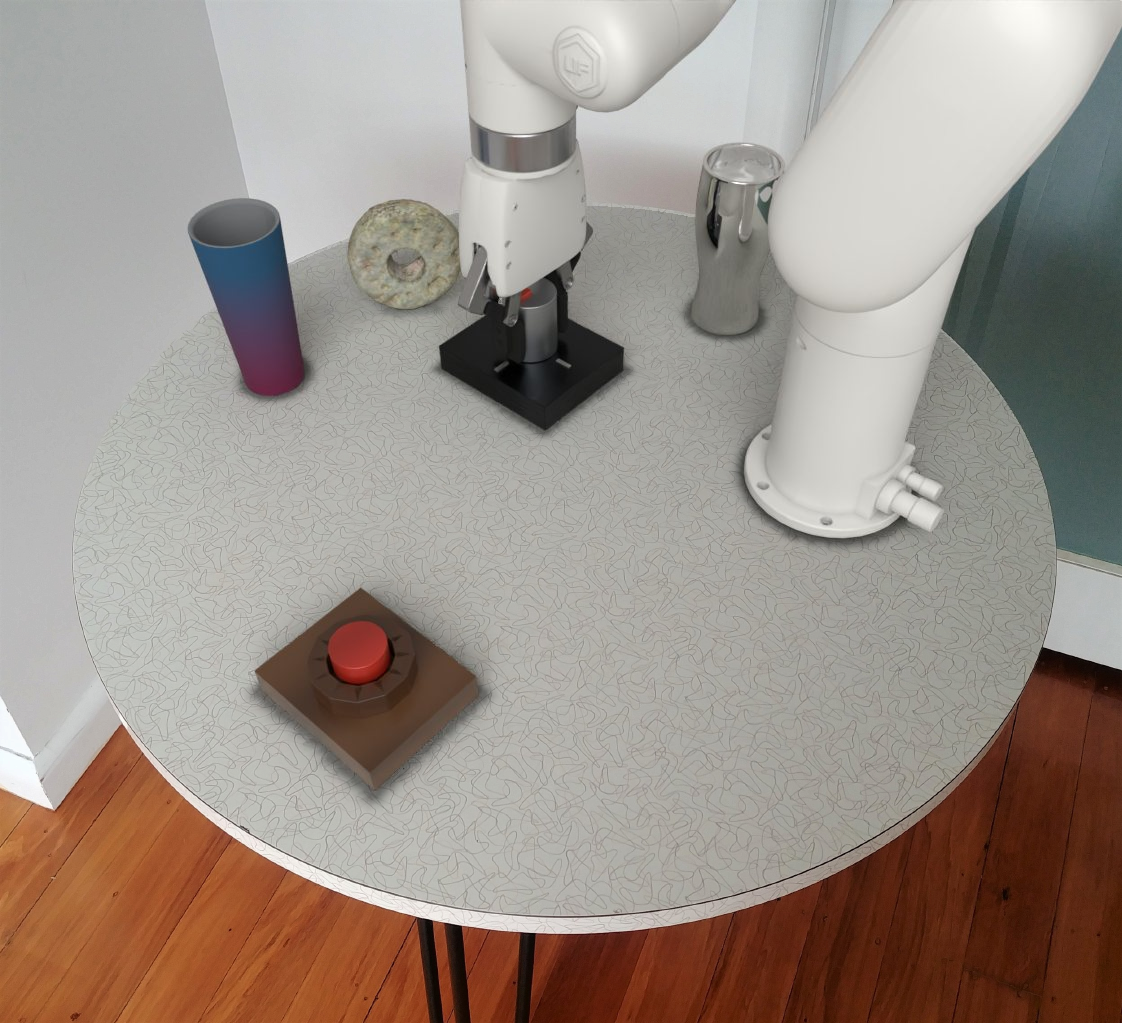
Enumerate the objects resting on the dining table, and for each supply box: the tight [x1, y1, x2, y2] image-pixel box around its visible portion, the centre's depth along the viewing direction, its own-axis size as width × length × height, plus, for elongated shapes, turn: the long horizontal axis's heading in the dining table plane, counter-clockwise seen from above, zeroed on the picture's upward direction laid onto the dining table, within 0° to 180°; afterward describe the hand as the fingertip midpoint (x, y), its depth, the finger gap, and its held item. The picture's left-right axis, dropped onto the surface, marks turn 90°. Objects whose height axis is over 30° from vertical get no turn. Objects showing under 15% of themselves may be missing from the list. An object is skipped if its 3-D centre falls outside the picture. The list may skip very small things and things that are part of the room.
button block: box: [254, 587, 479, 791], centre depth 67 cm, size 11×9×4 cm
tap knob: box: [501, 278, 557, 362], centre depth 87 cm, size 4×4×6 cm
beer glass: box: [690, 141, 786, 336], centre depth 90 cm, size 7×7×15 cm
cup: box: [187, 197, 306, 397], centre depth 85 cm, size 7×7×15 cm
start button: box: [328, 621, 391, 684], centre depth 65 cm, size 4×4×2 cm
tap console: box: [438, 303, 625, 431], centre depth 90 cm, size 12×10×3 cm
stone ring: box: [346, 198, 461, 310], centre depth 94 cm, size 10×4×10 cm, turn 96°
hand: (530, 338), depth 88 cm, fingers closed on tap knob, 4 cm apart
